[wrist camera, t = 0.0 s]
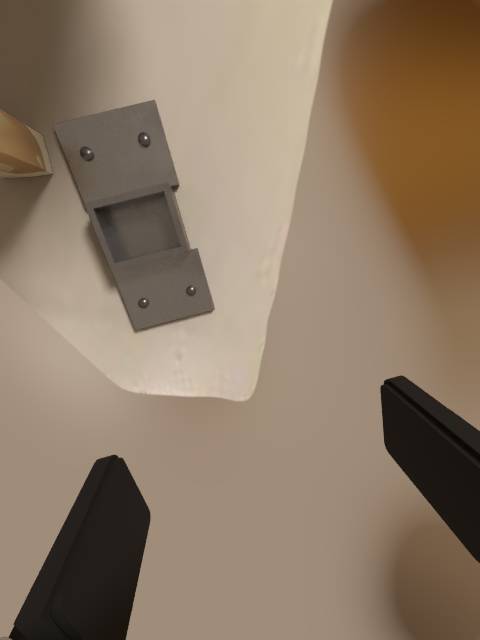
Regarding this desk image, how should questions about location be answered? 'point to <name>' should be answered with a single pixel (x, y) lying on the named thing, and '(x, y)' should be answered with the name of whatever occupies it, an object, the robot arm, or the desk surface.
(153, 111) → the hinge base
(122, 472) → the robot arm
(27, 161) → the skincare box
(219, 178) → the desk surface
